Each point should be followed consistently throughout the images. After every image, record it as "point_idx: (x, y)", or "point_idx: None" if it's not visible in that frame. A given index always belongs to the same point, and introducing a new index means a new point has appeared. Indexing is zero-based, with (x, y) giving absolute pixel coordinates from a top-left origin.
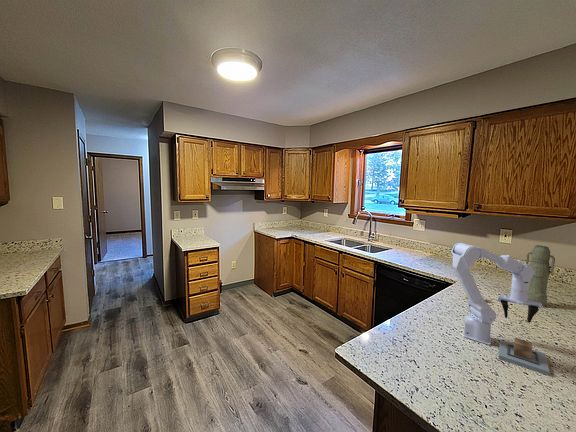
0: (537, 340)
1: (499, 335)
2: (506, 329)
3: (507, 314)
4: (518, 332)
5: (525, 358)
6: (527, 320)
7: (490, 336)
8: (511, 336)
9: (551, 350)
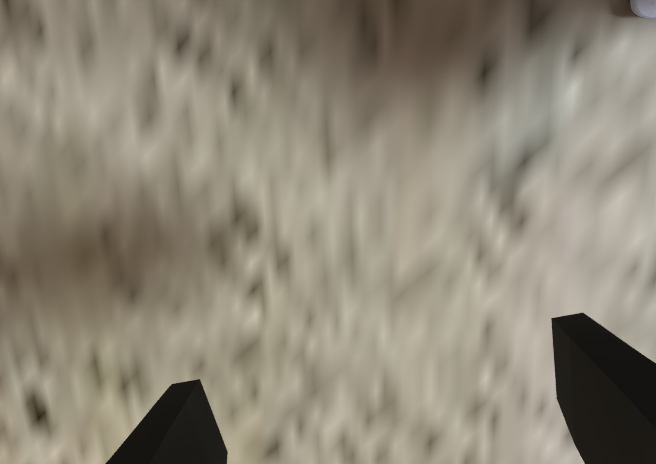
0: (172, 358)
1: (519, 186)
2: (445, 402)
3: (591, 363)
4: (338, 414)
5: None
6: (217, 442)
7: (645, 13)
8: (396, 263)
9: (29, 215)
